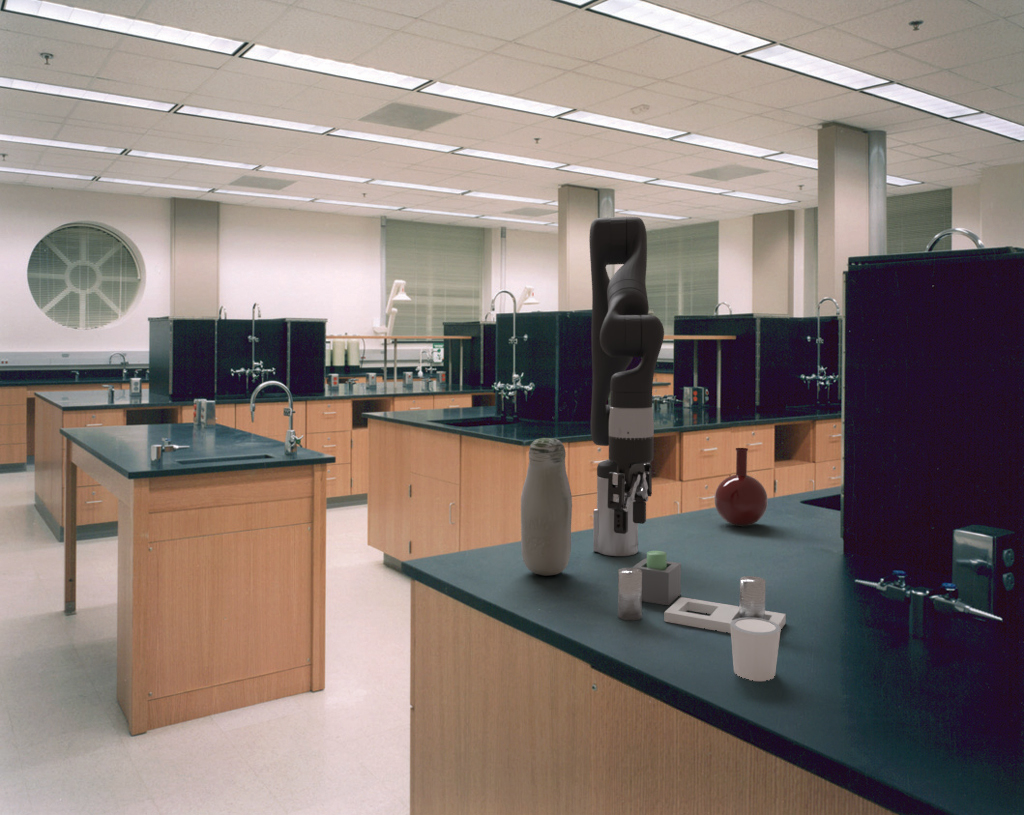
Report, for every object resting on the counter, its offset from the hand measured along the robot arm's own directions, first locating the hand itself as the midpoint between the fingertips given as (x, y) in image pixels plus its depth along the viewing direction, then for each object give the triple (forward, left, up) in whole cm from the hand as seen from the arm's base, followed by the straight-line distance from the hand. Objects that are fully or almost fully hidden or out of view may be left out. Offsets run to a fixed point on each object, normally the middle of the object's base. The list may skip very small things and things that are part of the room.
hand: (630, 527), depth 133 cm
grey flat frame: (+15, +5, -15) cm, 22 cm away
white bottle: (-24, +15, -16) cm, 32 cm away
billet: (0, 0, -15) cm, 16 cm away
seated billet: (+19, +5, -15) cm, 25 cm away
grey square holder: (0, +12, -15) cm, 20 cm away
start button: (0, +12, -13) cm, 18 cm away
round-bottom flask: (0, +77, -16) cm, 79 cm away
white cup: (+24, -13, -16) cm, 31 cm away
